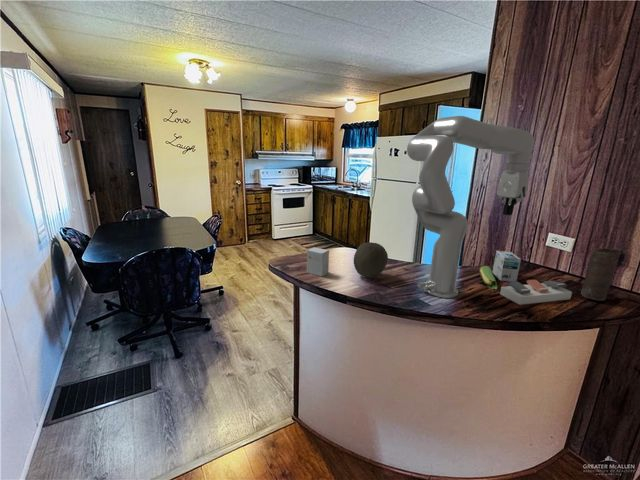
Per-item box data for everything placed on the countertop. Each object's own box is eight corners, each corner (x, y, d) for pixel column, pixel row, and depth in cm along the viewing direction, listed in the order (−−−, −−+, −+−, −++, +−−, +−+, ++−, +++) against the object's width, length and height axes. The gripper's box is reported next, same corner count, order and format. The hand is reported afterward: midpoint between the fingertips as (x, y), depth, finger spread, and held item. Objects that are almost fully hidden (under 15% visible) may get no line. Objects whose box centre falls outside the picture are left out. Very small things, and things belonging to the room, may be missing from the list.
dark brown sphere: (383, 285, 124) (386, 250, 120) (349, 280, 128) (351, 245, 124) (387, 273, 137) (390, 241, 133) (356, 268, 141) (358, 237, 137)
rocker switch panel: (519, 304, 112) (521, 295, 111) (499, 293, 120) (501, 285, 119) (570, 299, 117) (572, 290, 116) (548, 289, 126) (550, 281, 125)
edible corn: (491, 266, 139) (481, 262, 140) (501, 283, 121) (489, 279, 122) (486, 275, 141) (476, 271, 142) (494, 294, 123) (483, 289, 123)
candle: (607, 305, 113) (623, 253, 108) (581, 300, 117) (596, 249, 112) (602, 297, 120) (617, 248, 114) (578, 293, 123) (591, 245, 118)
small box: (328, 273, 135) (329, 250, 132) (321, 277, 131) (322, 253, 128) (313, 269, 139) (314, 246, 137) (306, 272, 135) (306, 249, 132)
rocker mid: (539, 292, 115) (540, 290, 114) (526, 282, 120) (527, 280, 119) (547, 291, 116) (548, 289, 115) (534, 281, 121) (535, 279, 120)
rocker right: (558, 287, 116) (558, 284, 116) (543, 284, 122) (543, 281, 122) (566, 286, 117) (566, 284, 117) (551, 283, 123) (551, 280, 123)
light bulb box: (516, 282, 132) (522, 258, 129) (499, 281, 133) (504, 257, 130) (507, 273, 142) (512, 251, 139) (491, 272, 143) (495, 250, 140)
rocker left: (521, 293, 112) (522, 291, 112) (508, 284, 118) (509, 282, 117) (529, 292, 113) (530, 290, 113) (516, 283, 119) (517, 281, 118)
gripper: (493, 167, 126) (485, 211, 131) (525, 169, 112) (515, 218, 117) (508, 167, 128) (500, 211, 133) (541, 169, 114) (531, 218, 119)
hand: (507, 214), depth 125 cm, fingers closed
